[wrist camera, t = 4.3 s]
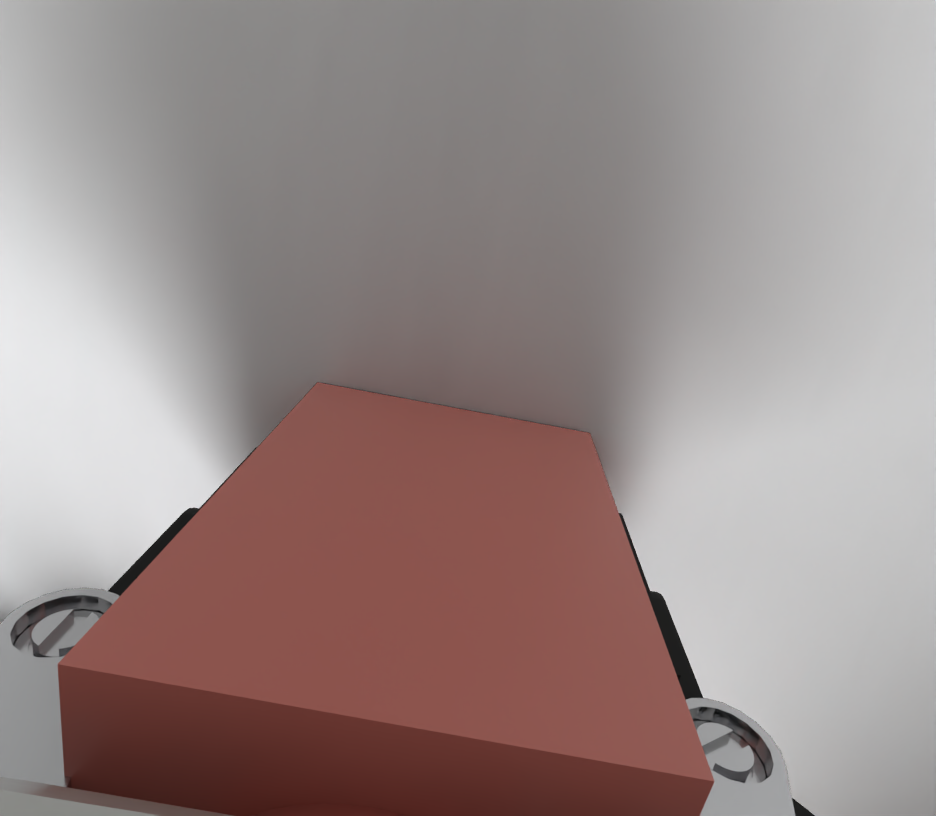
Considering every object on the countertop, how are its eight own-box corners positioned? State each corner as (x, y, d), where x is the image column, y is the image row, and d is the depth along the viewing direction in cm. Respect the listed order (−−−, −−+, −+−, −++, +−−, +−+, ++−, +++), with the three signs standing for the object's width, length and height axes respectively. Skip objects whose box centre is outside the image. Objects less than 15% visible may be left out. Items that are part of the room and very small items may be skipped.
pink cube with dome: (317, 382, 11) (-86, 819, 4) (590, 432, 11) (782, 970, 4) (294, 608, 13) (-10, 1235, 5) (531, 650, 13) (576, 1331, 5)
